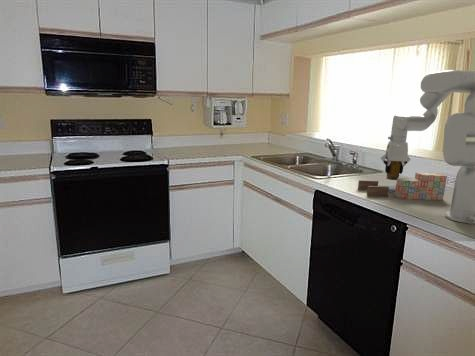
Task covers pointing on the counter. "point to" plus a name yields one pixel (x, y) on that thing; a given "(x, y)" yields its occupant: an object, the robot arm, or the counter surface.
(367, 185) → the brown angular block
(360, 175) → the counter surface
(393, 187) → the mat
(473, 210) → the robot arm
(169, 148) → the counter surface
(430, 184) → the stack of blocks
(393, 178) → the condiment
